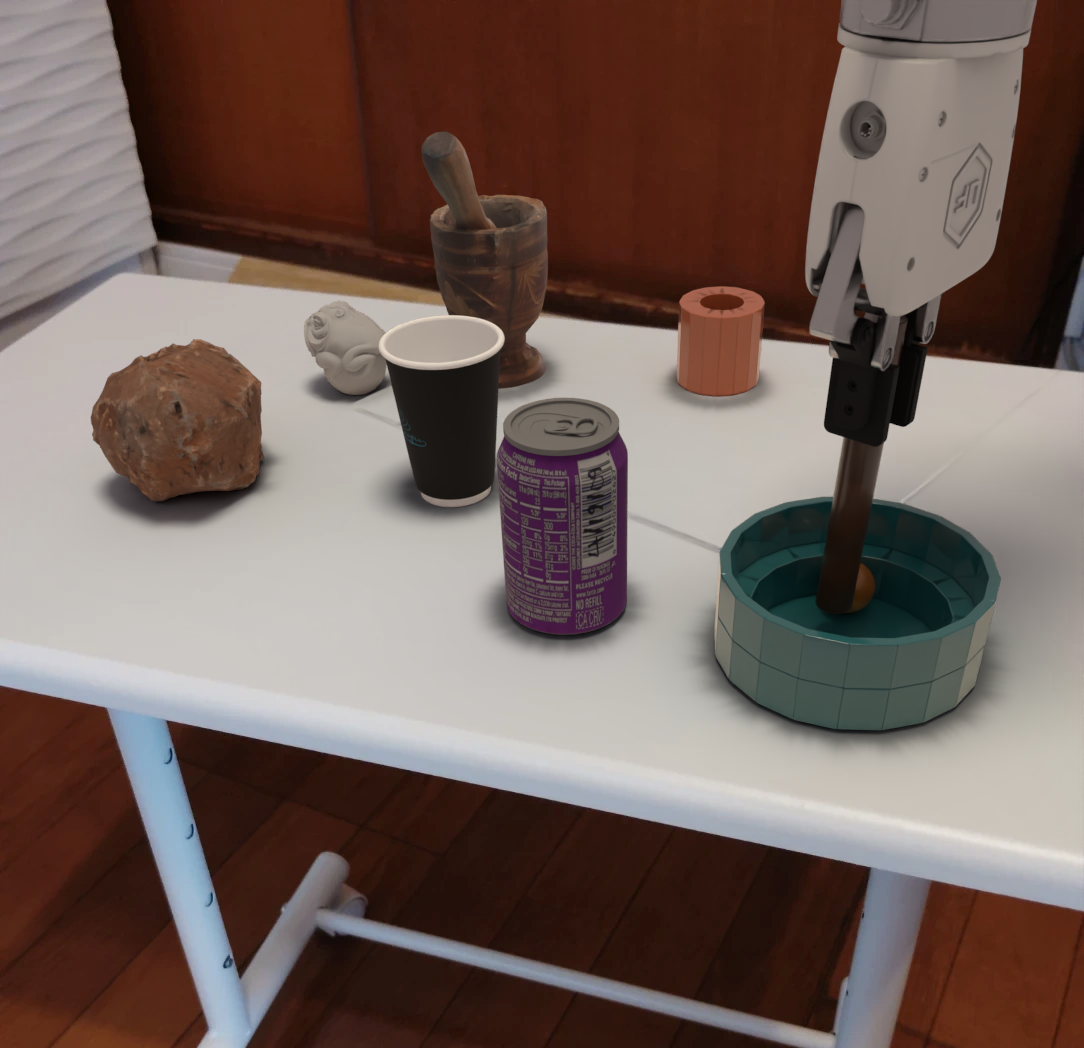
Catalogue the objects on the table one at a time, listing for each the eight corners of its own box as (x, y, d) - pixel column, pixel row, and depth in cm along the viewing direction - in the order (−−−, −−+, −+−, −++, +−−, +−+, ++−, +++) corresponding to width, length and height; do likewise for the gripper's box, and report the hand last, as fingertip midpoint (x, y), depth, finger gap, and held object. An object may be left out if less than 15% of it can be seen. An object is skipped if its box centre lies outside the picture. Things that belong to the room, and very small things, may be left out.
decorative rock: (234, 536, 78) (200, 394, 72) (80, 524, 80) (33, 385, 74) (304, 444, 88) (279, 311, 82) (164, 435, 90) (130, 306, 84)
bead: (819, 592, 70) (838, 546, 68) (867, 611, 69) (887, 565, 67) (808, 608, 67) (827, 560, 66) (858, 628, 66) (878, 581, 65)
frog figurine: (339, 370, 98) (326, 286, 94) (412, 382, 96) (402, 296, 91) (298, 401, 94) (282, 314, 89) (374, 414, 92) (361, 326, 87)
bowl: (800, 559, 74) (810, 472, 70) (1021, 642, 66) (1046, 550, 62) (663, 669, 66) (666, 577, 62) (896, 778, 58) (916, 682, 54)
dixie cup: (375, 506, 81) (352, 350, 73) (441, 457, 86) (425, 306, 79) (473, 534, 77) (458, 373, 70) (535, 481, 82) (528, 326, 75)
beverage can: (633, 580, 72) (635, 396, 65) (618, 649, 67) (619, 457, 59) (519, 573, 74) (508, 391, 66) (496, 640, 68) (481, 450, 60)
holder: (706, 367, 96) (711, 280, 91) (772, 386, 92) (780, 297, 88) (660, 394, 92) (663, 305, 88) (727, 415, 89) (733, 324, 84)
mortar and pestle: (549, 421, 89) (537, 135, 77) (435, 423, 90) (405, 139, 77) (554, 358, 98) (545, 92, 85) (451, 360, 99) (426, 96, 86)
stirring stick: (826, 590, 67) (876, 306, 57) (858, 603, 66) (915, 315, 56) (808, 605, 65) (856, 318, 55) (840, 618, 64) (895, 327, 54)
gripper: (930, 42, 41) (853, 514, 53) (1108, -20, 50) (1009, 394, 62) (746, 21, 45) (713, 464, 56) (943, -34, 54) (879, 358, 65)
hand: (868, 425), depth 59 cm, fingers closed on stirring stick, 2 cm apart
